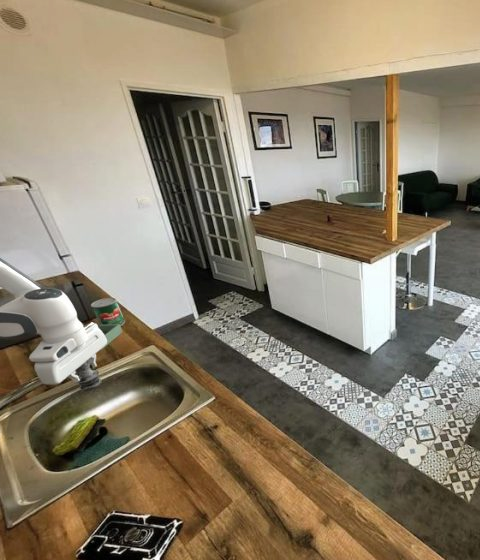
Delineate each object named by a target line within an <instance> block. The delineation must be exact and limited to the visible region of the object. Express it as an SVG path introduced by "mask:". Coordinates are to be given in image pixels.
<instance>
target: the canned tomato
mask: <svg viewBox="0 0 480 560" xmlns="http://www.w3.org/2000/svg"><path fill="white" fill-rule="evenodd" d="M90 307H91V308H92V310H93V314H94V315H95V317H96V319H97V321H98V324H99V325H109V324H120V326H123V325H124V324H125V323H126V320H125V318H124V317H125V316H124V315H123V313H122V310H121V308H120V306H119V303H118V301H117V299H116V298H115V297H104V298H100V299H98V300H95V301H93V302H92V303H91V304H90Z"/></svg>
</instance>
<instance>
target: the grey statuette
mask: <svg viewBox="0 0 480 560" xmlns="http://www.w3.org/2000/svg"><path fill="white" fill-rule="evenodd" d="M89 365H90V364H89V363H88V361H86V362H85V363H83V364H82V365H81V366H80V367H79V368H77V369H76V370H75V372H76V373H77V375H79V374H81V376H82V379H81V380H80V381H79V382H75V384H78V385H79V386H80V387H79V389H80V391H83V392H85V391H90V390H94V389H95V388H97V387H98V386H100V385H101V384H102V382H103V380H102V379H101V378H99V374H100V371H99V370H97V369H90V367H89Z"/></svg>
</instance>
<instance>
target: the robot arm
mask: <svg viewBox="0 0 480 560" xmlns="http://www.w3.org/2000/svg"><path fill="white" fill-rule="evenodd" d="M0 288H1V289H3V290H4V291H6V292H8V293H9V294H11V295H13V296H14V299H12V300H10V301H9V302H7V303H5V304H3V305H1V306H0V339H1V340H3V339H4V340H10V341H11V340H19V339H24V338H28V337H33V336H34V335H39V336H40V337H41V339H42V340H41V341H40V342H39V343H40V344H39V343H38V345H37V347H35V349H34V350H33V351H32V352H31V353H30V354H29V357H28V358H29V361H30V362H32V363H34V371H35V374H36V376H37V377H38V379H39V381H40V382H41V383H42V384H43V385H49V386H52V385H53V386H54V385H59V384H61V383H62V382H63V381H64V380H66V379H67V378H69V379H70V380H71V381H72V383H76V382H79V381H80V380H81V379H82V376H81V374H79V375H78V374H76V373H77V371H75V370H76V369H77V368H79V367H80V366H81V365H82V364H83V363H85V362H87V363H89V364H90V365H89V367H90V369H91V370H95V368H96V367H98V365H97V362H96V361H97V353H98V352H99V351H101V350H100V349H102V348H103V347H104V346H105V345H106V344H107V339H106V337H105V335H104V334H103V332H102V331H101V330H100V329H99V328H98V326H97V325H98V324H97V323H95V322H89V323H87V324H85V325H86V326H85V327H83V325H84V324H83V322H81V321H80V320H79V318H78V313H77V310H76V308H75V306H74V304H73V303H72V301H71V300H70V298H69V296H68V295H67V294H66V293H65V292H63V290H61V289H59V288H54V287H53V288H52V287H48V286H45V285H43V284H41V283H40V282H38V281H36V280H35V279H33V278H31V277H30V276H29V275H27V274H25V273H24V272H22V271H21V270H19V269H18V268H16V267H15V266H13V265H12V264H10V263H9V262H8V261H6V260H4V259H3V258H1V257H0ZM106 346H107V345H106ZM106 346H105V347H106ZM105 347H104V348H105ZM104 348H103V349H104ZM103 349H102V350H103Z"/></svg>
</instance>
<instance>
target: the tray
mask: <svg viewBox="0 0 480 560" xmlns="http://www.w3.org/2000/svg"><path fill="white" fill-rule="evenodd" d="M86 325H87V324H83V327H85V326H86ZM97 326H98V328H99V329H100V330H101V331H102V332H103V334H104V335H105V337H106V339H107V344H106V345H105V346H104V347H103V348H102V349H100V350H99V351H102V350H103V349H105V348H106V347H107V346H108V345H109V344H111V342H113V340H115V339H116V338H117V337H119V336H120V335H121V334H122V333H123V328H122V327H121V326H122V325H121V326H120V324H109V325H100V324H97ZM39 344H40V342H39V343H38V345H39Z"/></svg>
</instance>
